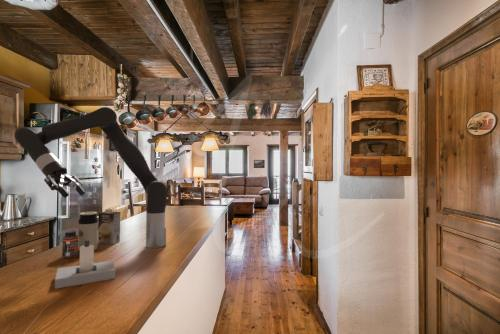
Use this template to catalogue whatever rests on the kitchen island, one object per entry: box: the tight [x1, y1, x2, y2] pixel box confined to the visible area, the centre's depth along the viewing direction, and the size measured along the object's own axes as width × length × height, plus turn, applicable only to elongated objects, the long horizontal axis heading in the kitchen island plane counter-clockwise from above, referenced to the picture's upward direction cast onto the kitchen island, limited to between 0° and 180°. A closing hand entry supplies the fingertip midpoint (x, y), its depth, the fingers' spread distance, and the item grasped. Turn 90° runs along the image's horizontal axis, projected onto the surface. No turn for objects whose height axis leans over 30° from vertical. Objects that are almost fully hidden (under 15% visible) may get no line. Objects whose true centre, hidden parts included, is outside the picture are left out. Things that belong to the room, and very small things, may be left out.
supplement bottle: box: [61, 230, 79, 259], centre depth 127 cm, size 6×6×11 cm
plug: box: [79, 240, 95, 273], centre depth 103 cm, size 4×4×13 cm
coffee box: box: [97, 210, 121, 245], centre depth 152 cm, size 9×6×16 cm
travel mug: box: [78, 211, 99, 252], centre depth 137 cm, size 8×8×18 cm
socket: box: [54, 260, 116, 290], centre depth 103 cm, size 18×12×3 cm, turn 121°
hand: (75, 195), depth 115 cm, fingers open, 8 cm apart
